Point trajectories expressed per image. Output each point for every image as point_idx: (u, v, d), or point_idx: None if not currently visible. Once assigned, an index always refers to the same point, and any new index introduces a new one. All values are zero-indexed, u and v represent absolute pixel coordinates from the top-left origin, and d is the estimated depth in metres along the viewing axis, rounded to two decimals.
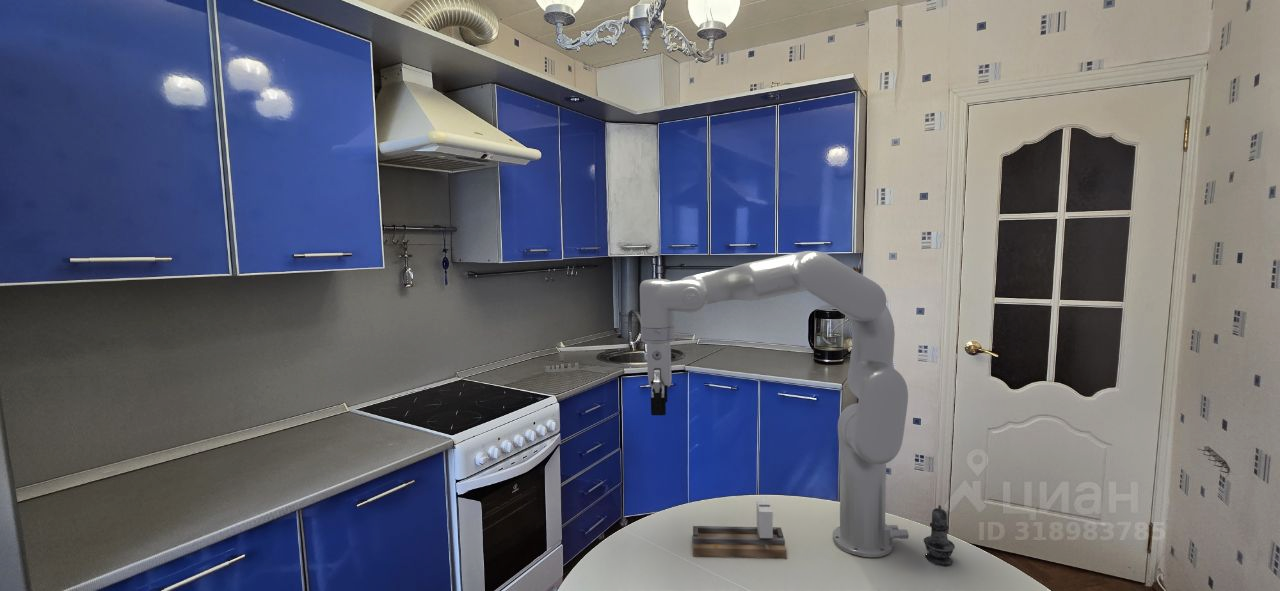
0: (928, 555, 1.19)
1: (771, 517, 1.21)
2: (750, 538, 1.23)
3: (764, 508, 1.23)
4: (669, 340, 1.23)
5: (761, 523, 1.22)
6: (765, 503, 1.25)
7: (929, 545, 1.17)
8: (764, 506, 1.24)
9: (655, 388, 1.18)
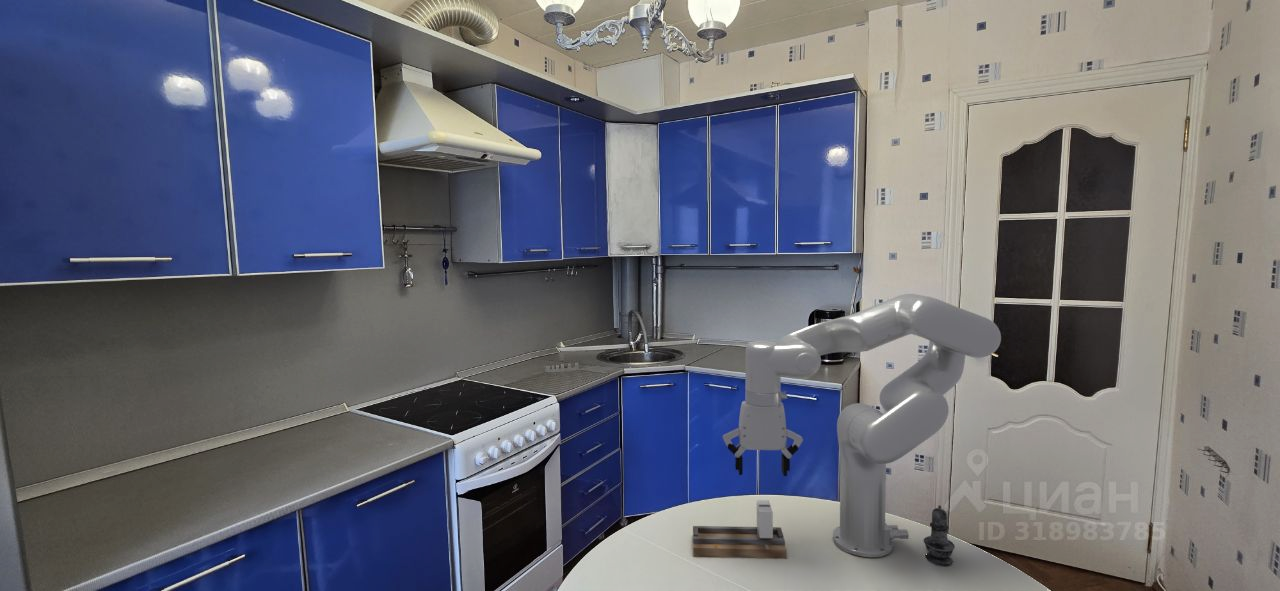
0: (928, 555, 1.19)
1: (771, 517, 1.21)
2: (750, 538, 1.23)
3: (764, 508, 1.23)
4: None
5: (761, 523, 1.22)
6: (765, 503, 1.25)
7: (929, 545, 1.17)
8: (764, 506, 1.24)
9: None
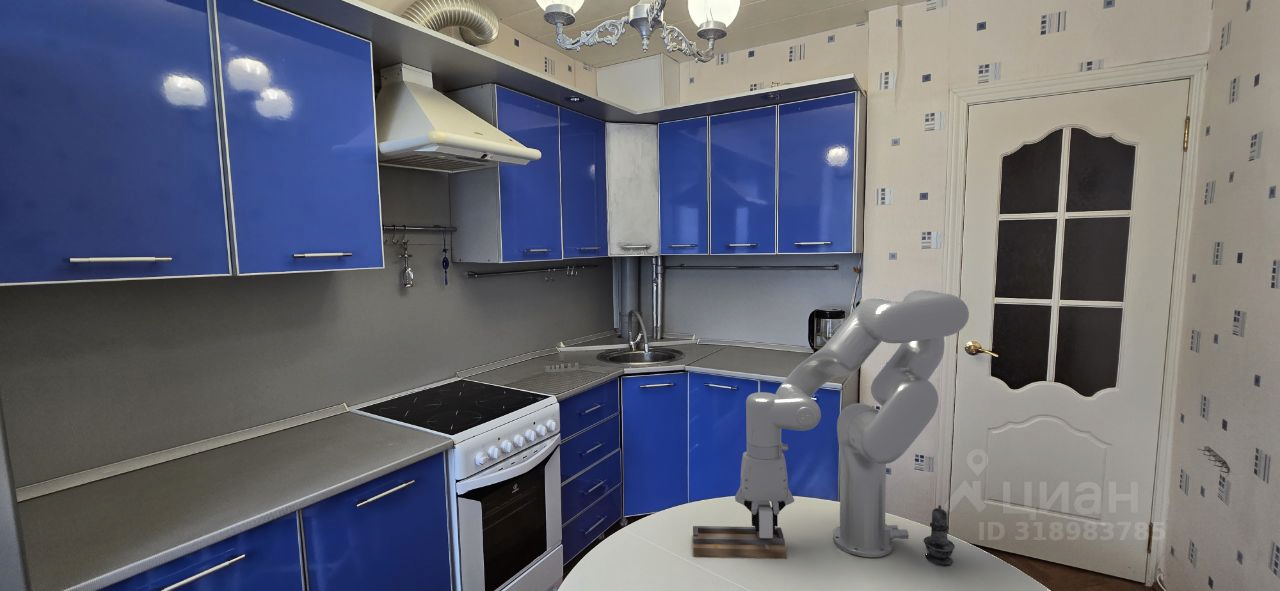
0: (928, 555, 1.19)
1: (771, 517, 1.21)
2: (750, 538, 1.23)
3: (764, 508, 1.23)
4: None
5: (761, 523, 1.22)
6: (765, 503, 1.25)
7: (929, 545, 1.17)
8: (764, 506, 1.24)
9: None
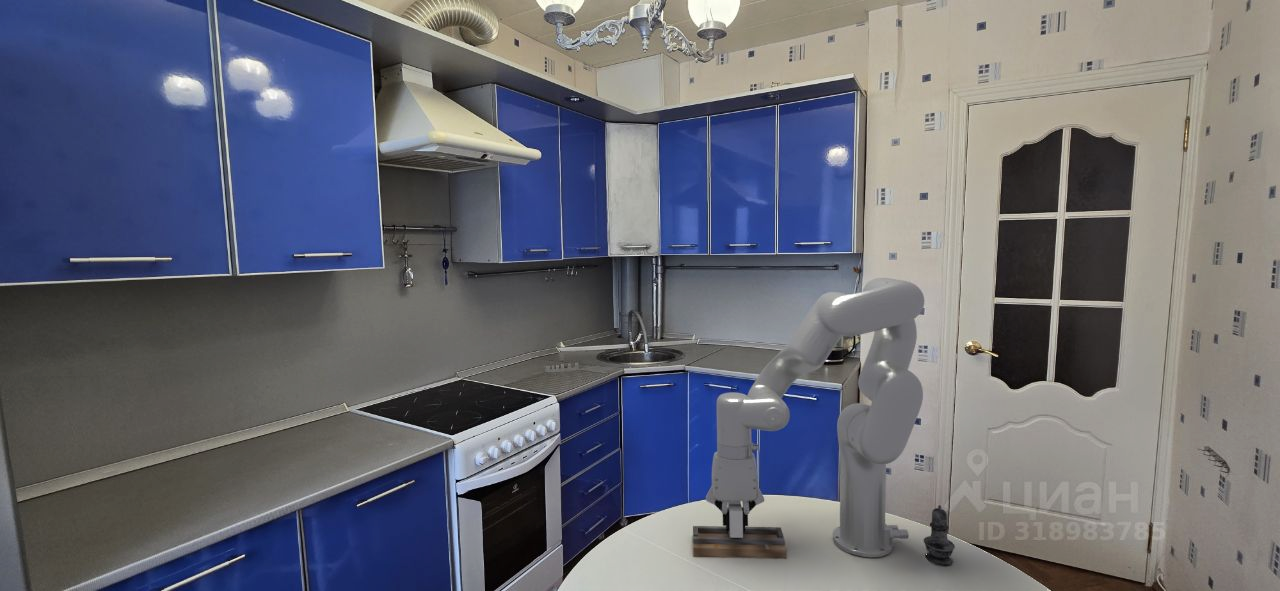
0: (928, 555, 1.19)
1: (741, 517, 1.22)
2: (750, 538, 1.23)
3: (734, 508, 1.23)
4: None
5: (731, 523, 1.22)
6: (736, 502, 1.26)
7: (929, 545, 1.17)
8: (735, 506, 1.24)
9: None
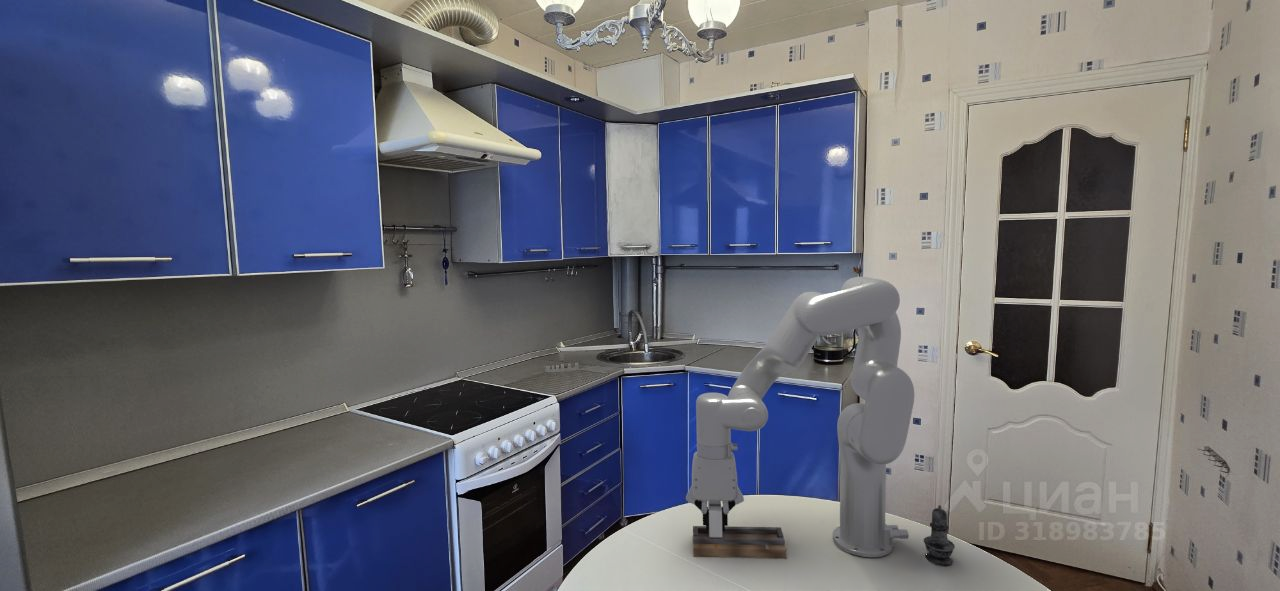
0: (928, 555, 1.19)
1: (720, 516, 1.22)
2: (750, 538, 1.23)
3: (714, 507, 1.24)
4: None
5: (711, 522, 1.23)
6: (716, 502, 1.26)
7: (929, 545, 1.17)
8: (714, 505, 1.25)
9: None
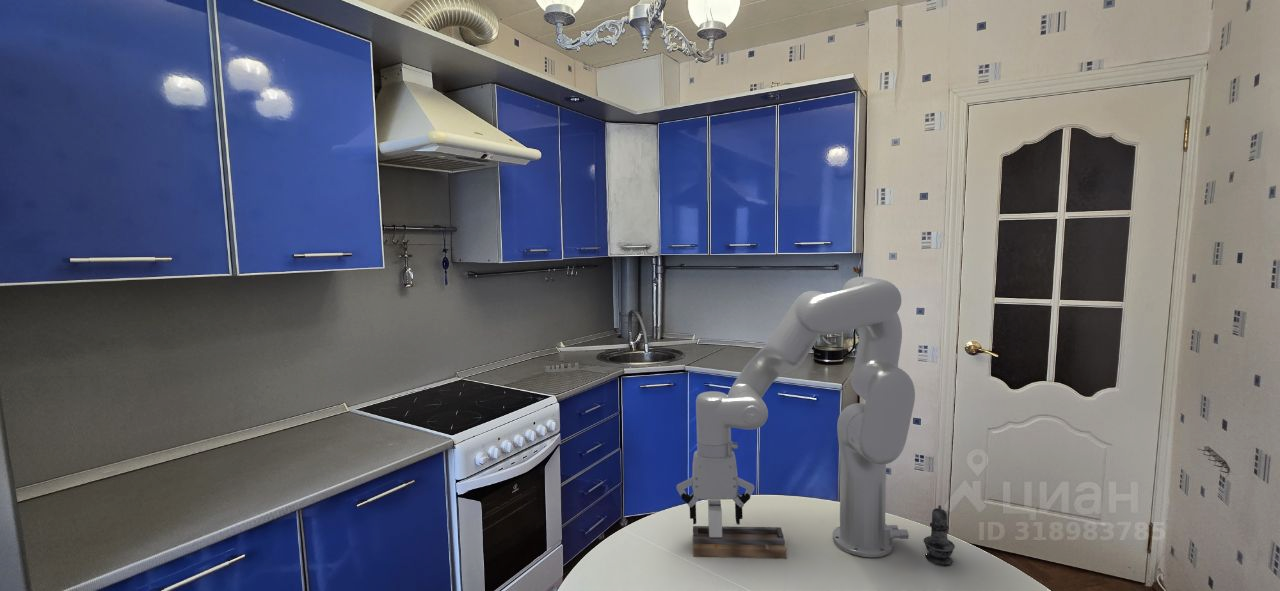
0: (928, 555, 1.19)
1: (720, 516, 1.22)
2: (750, 538, 1.23)
3: (714, 507, 1.24)
4: None
5: (710, 522, 1.23)
6: (715, 502, 1.26)
7: (929, 545, 1.17)
8: (714, 505, 1.25)
9: None
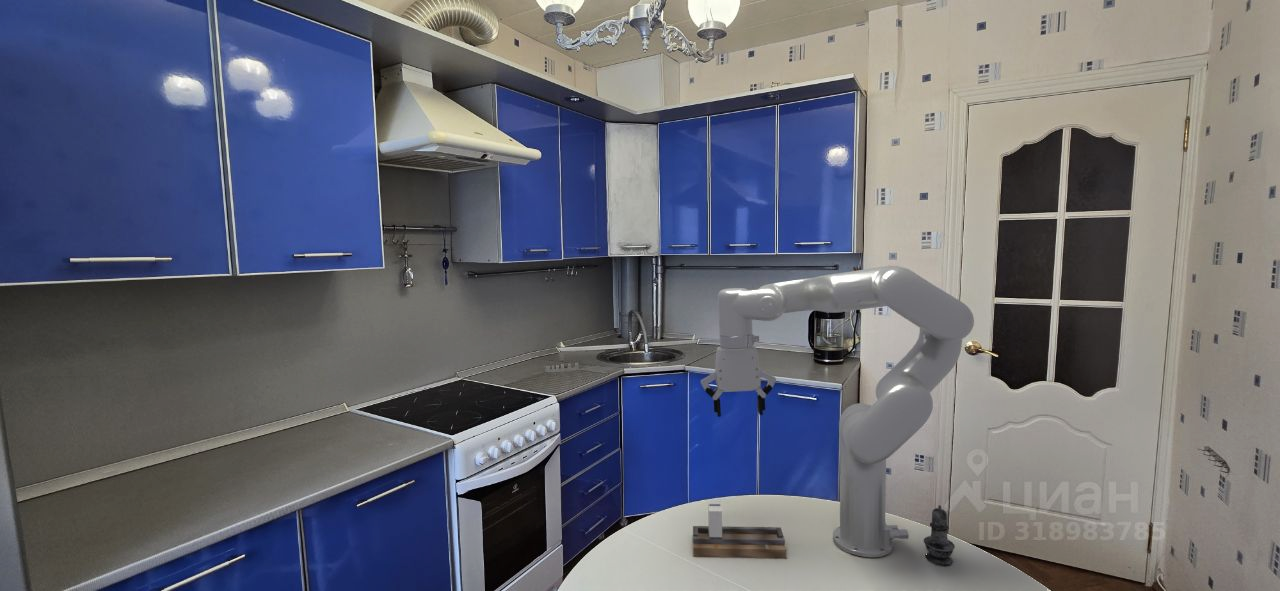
0: (928, 555, 1.19)
1: (720, 516, 1.22)
2: (750, 538, 1.23)
3: (714, 507, 1.24)
4: None
5: (710, 522, 1.23)
6: (715, 502, 1.26)
7: (929, 545, 1.17)
8: (714, 505, 1.25)
9: None
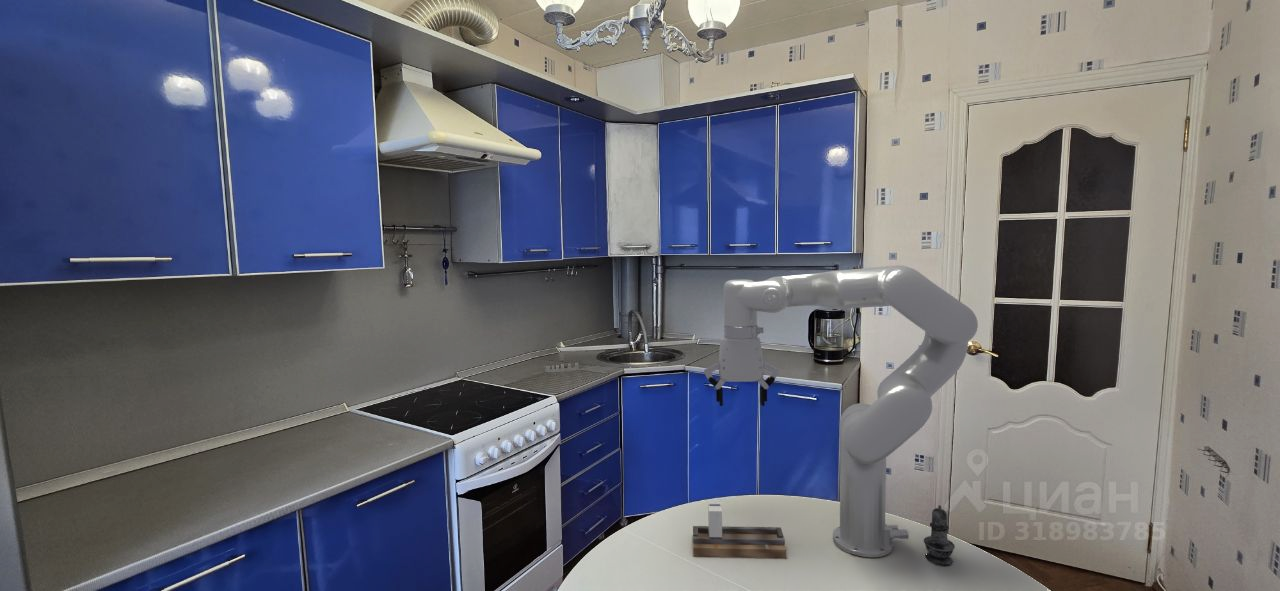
0: (928, 555, 1.19)
1: (720, 516, 1.22)
2: (750, 538, 1.23)
3: (714, 507, 1.24)
4: None
5: (710, 522, 1.23)
6: (715, 502, 1.26)
7: (929, 545, 1.17)
8: (714, 505, 1.25)
9: None
